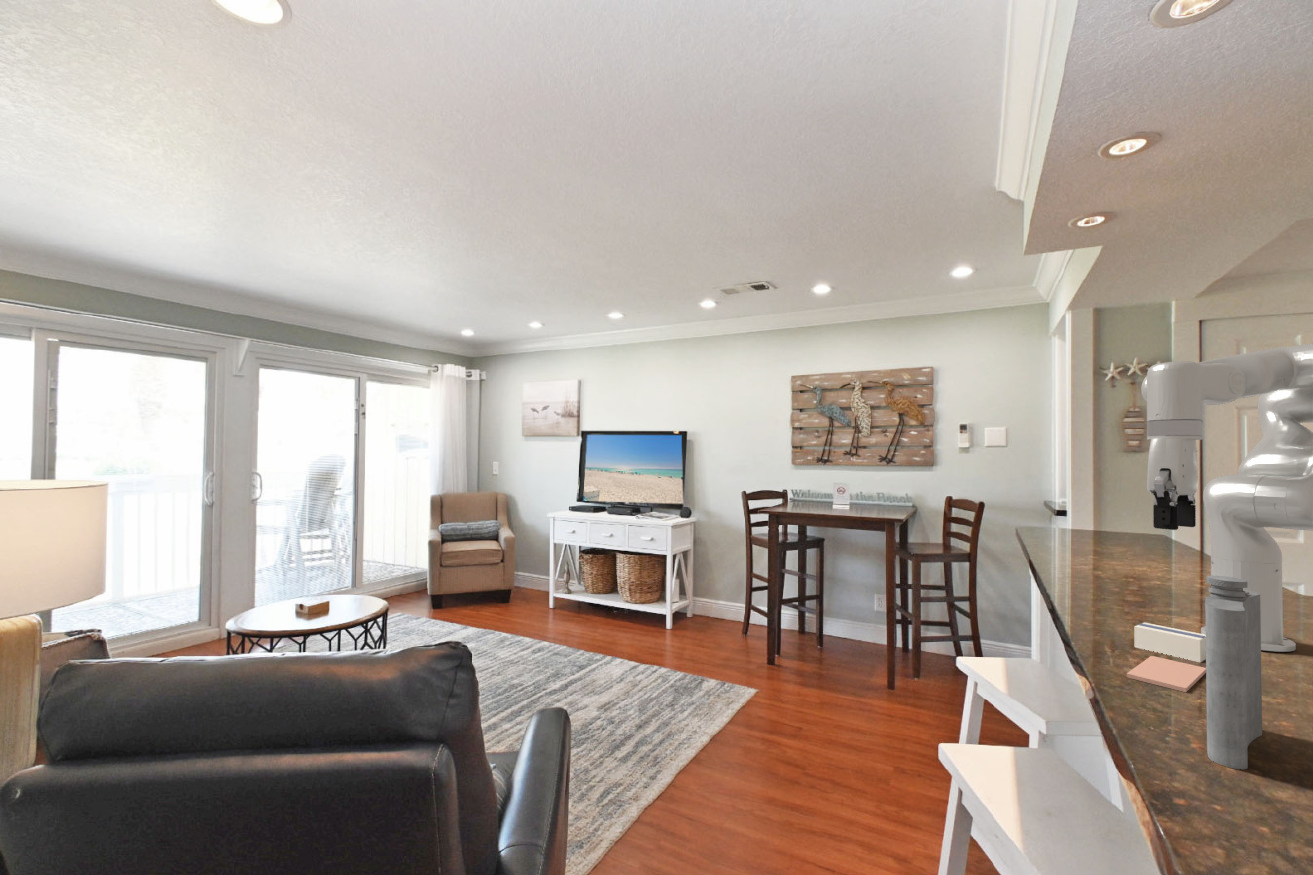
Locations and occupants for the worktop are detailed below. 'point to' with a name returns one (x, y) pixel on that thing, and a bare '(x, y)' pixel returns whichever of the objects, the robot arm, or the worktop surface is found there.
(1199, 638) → the card box
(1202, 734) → the worktop surface
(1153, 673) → the mat
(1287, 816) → the worktop surface
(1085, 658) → the worktop surface
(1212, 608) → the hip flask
